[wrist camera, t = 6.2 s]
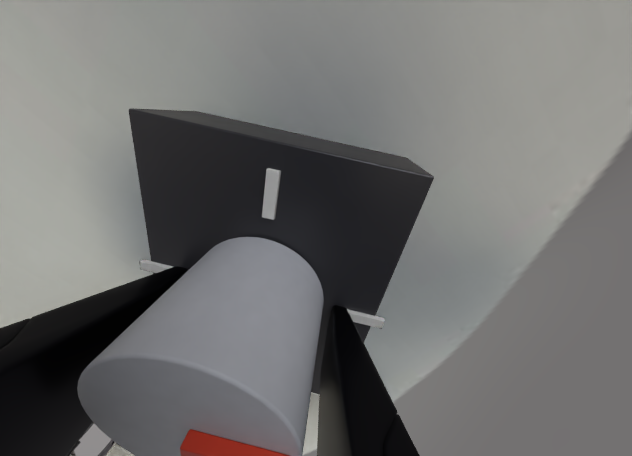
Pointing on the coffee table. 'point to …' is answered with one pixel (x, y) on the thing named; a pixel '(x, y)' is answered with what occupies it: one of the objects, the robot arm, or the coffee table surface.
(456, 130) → the coffee table surface
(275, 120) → the coffee table surface
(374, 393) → the robot arm
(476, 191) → the coffee table surface
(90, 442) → the beer glass
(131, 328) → the timer knob
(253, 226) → the timer panel
